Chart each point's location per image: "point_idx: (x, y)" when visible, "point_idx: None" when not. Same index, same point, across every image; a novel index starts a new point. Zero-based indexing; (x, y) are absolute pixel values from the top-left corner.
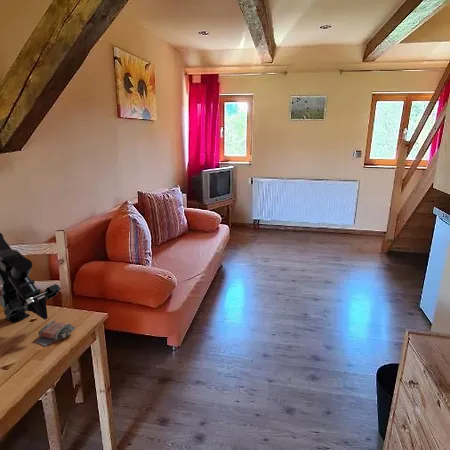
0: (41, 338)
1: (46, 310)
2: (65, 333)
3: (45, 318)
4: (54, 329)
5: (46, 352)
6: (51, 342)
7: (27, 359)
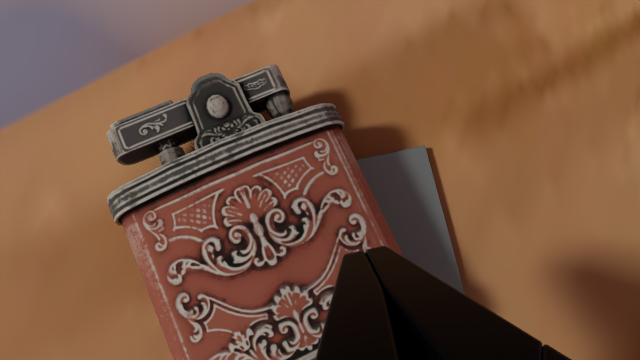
0: None
1: (329, 336)
2: (241, 77)
3: (386, 248)
4: (296, 201)
5: (446, 58)
6: (362, 159)
7: (586, 82)
